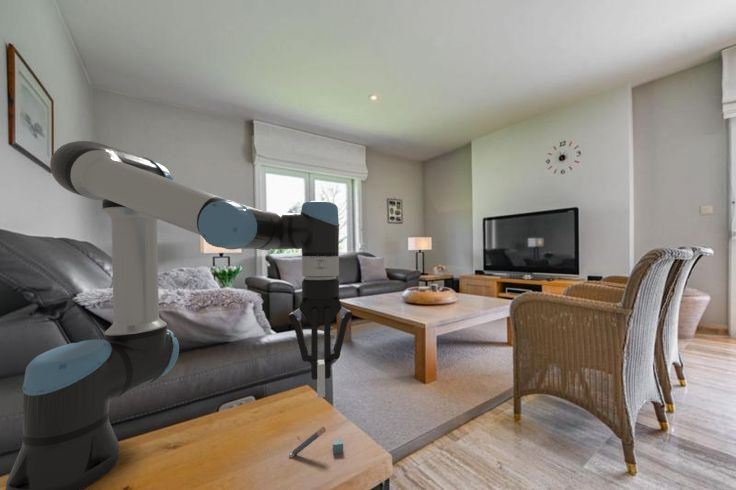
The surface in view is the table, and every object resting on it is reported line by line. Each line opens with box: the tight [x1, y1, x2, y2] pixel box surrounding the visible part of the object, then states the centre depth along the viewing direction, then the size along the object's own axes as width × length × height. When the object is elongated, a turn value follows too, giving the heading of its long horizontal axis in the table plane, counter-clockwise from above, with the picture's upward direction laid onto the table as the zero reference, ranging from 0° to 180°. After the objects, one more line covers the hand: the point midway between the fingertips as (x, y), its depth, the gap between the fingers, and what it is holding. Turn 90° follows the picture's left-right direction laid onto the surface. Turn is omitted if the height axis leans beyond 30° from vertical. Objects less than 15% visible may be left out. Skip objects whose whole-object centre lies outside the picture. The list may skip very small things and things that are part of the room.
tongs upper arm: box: [288, 426, 326, 459], centre depth 61 cm, size 8×1×1 cm
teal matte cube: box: [332, 438, 344, 455], centre depth 62 cm, size 2×2×3 cm
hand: (321, 394), depth 62 cm, fingers closed
